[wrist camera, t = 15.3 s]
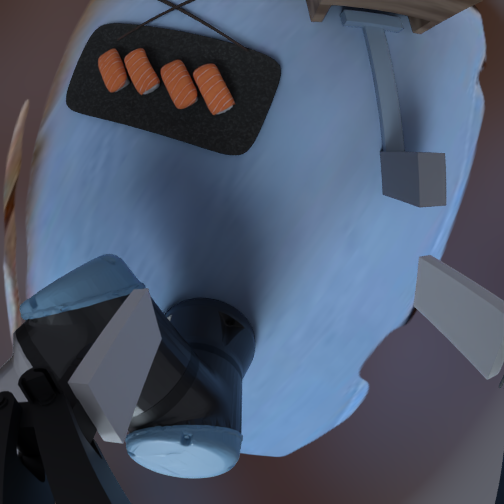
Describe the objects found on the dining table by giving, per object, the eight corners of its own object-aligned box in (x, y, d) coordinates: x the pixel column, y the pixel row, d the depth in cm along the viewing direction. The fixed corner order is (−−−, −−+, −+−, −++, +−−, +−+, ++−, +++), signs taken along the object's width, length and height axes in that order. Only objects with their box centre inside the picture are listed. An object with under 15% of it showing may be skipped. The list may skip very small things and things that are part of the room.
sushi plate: (66, 110, 33) (52, 108, 29) (146, -45, 24) (140, -56, 21) (247, 163, 37) (247, 163, 33) (321, -11, 28) (327, -23, 24)
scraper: (419, 192, 37) (460, 204, 28) (366, 195, 37) (400, 208, 28) (394, 22, 29) (426, -3, 19) (340, 15, 29) (363, -18, 19)
